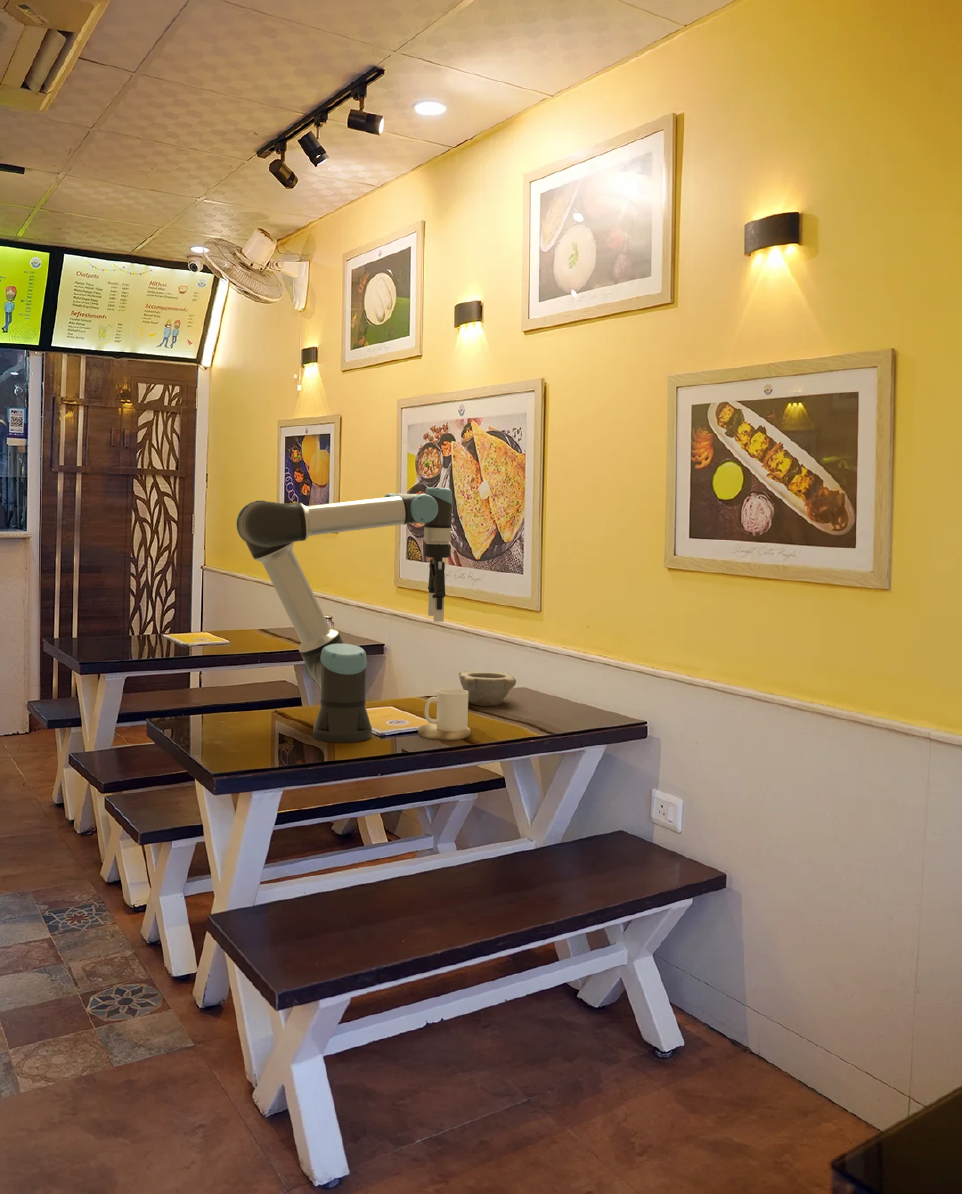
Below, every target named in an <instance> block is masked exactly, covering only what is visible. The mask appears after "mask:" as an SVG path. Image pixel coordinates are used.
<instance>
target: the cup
mask: <svg viewBox="0 0 962 1194" xmlns="http://www.w3.org/2000/svg"><path fill="white" fill-rule="evenodd" d="M436 693H437V694H436V696H431V697H429V698H428V699H427V700H426V702H425V705H424V711H423V712H424V713H423V714H424V719H425V720H426V721H427V722H428V724H436V726H437V729H438V730H440V731H445V732H461V731H465V730H466V729H467V727H468V718H469V716H468V713H469V711H468V710H469V700H468V691H467V690H463V688H441V689H437V692H436ZM432 702H436V718H431V717H430V714H429V709H430V705H431V703H432Z"/></svg>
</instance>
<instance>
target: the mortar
mask: <svg viewBox="0 0 962 1194" xmlns="http://www.w3.org/2000/svg"><path fill="white" fill-rule="evenodd" d="M458 676H459V682H460V684H461V688H462V689H463V690H467V691H468V702H470V704H471V705H476V706H483V707H493V706H498V705H501V704H502V703H503V701H505V698H506V697H507V696H508V694H509V693H510V691H511V690H512V689H513V688H514V687H515V686H516V684H517V680H516V678H515V677H514V675H512V674H510V673H509V672H507V671H506V672H505V671H482V670H481V671H478V670H477V671H475V670H474V671H469V670H468V671H467V670H465V671H463V670H462V671H459V673H458Z"/></svg>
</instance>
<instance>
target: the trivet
mask: <svg viewBox="0 0 962 1194" xmlns="http://www.w3.org/2000/svg"><path fill="white" fill-rule="evenodd" d="M417 730H418V731H417V733H418V735H419V736H420V737H424V738H425V739H431V740H439V741H440V740H441V741H445V740H446V741H448V740H449V741H452V740H454V741H455V740H461V739H462V740H463V739H466V738H469V737H470V736H471V731H472V729H471V728H470V727H468V726H467V729H466V730H465V731H461V732H445V731H440V730H438V729H437V726H436V724H432V723H428V724H423V725H421V726H419V727H418V728H417Z"/></svg>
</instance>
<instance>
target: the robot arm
mask: <svg viewBox="0 0 962 1194" xmlns="http://www.w3.org/2000/svg"><path fill="white" fill-rule="evenodd" d="M452 492H453V491H452V489H450V488H448V487H426V489H425V491H424V493H398V492H395V493H386V494H385V495H384V496H383V497H378V498H369V499H368V498H367V499H360V500H352V501H342V502H341V501H340V502H339V501H338V502H333V503H332V502H331V503H323V504H322V503H321V504H313V505H311V504H310V505H304V504H303V503H302V502H295V503H289V502H288V503H286V502H285V503H281V502H276V501H275V502H274V501H268V500H267V501H266V500H255V501H252V502H249V503H248V504H245V506H243V507H242V509H240V511H239V513H238V515H237V518H236V522H235V523H236V530H237V534H238V535H239V537H240V538H241V539H242V540H243V541H244V542H245V544H246V546H247V548H248V550H249V553H250V554H251V556H252V558H253V560H254V561H257V562H260V563H261V564H262V565H263V567H264V569H265V571H266V572H267V575H268V578H269V579H270V581H271V584H272V585H273V588H274V590H275V591H276V594H277V596H278V598H279V600H280V601H281V604H282V606H283V608H284V610H285V612H286V615H287V616H288V618H289V620H290V622H291V625H292V626H293V628H294V630H295V632H296V635H297V637H298V638H299V640H300V645H299V648H298V651H299V653H300V656H301V658H302V660H303V661H304V667H305V671H306V673H307V675H308V676H309V678H310V679H311V680H312V681H313V682H315V683H316V684H318V685H319V686H320V705H319V706H320V707H319V710H318V713H317V716H316V719H315V721H314V724H313V730H312V731H313V733H312V737H313V738H314V739H316V740H318V741H322V742H328V743H354V742H362V741H366V740H368V739H370V738H372V736H373V731H372V730H373V728H372V724H371V720H370V718H369V715H368V712H367V711H368V710H367V708H366V704H367V703H366V698H367V697H366V695H367V693H366V692H367V665H368V660H367V652H366V651H365V649H364V648H362V647H360V646H358V645H353V644H351V643H344V640H343V639H342V637H341V635H340V632H339V631H338V630H337V629H333V628H331V627H330V624H329V622H328V620H327V618H326V617H325V614H324V612H323V610H322V608H321V607H320V603H319V602H318V600H317V597H316V595H315V593H314V592H313V589H312V587H311V585H310V583H309V581H308V578H307V576H306V574H305V573H304V571H303V569H302V567H301V565H300V562H299V561H298V557H297V556H296V553H295V552H294V549H293V547H294V544H295V543H297V542H304V541H306V540H307V539H308V538H309V537H312V536H318V535H327V534H337V533H344V532H351V531H360V530H369V529H377V528H384V527H385V528H386V527H394V526H400V525H401V526H402V525H412V524H424V527H423V529H424V530H423V531H424V532H423V539H424V540H423V541H424V542H425V544H423V545H424V546H423V556H424V557H425V558H430V559H429V566H428V567H429V573H428V574H429V575H428V586H427V591H428V607H427V608H428V609H427V610H428V613H427V615H428V617H430V616H431V617H433V622H440V623H441V622H443V623H444V622H445V620H444V617H445V597H446V595H447V594H446V582H445V581H446V580H445V577H446V576H445V575H446V574H445V571H446V570H445V568H446V564H445V563H446V562H445V561H443V559H444V558H446V559H447V558H448V559H449V558H450V557H451V556H452V555H451V553H452V545H451V544H450V543H451V542H452V536H453V535H454V531H452V520H453V519H452V517H453V516H452V515H453V493H452Z"/></svg>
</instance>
